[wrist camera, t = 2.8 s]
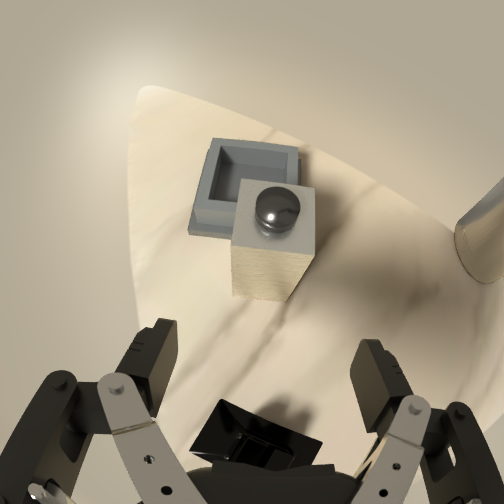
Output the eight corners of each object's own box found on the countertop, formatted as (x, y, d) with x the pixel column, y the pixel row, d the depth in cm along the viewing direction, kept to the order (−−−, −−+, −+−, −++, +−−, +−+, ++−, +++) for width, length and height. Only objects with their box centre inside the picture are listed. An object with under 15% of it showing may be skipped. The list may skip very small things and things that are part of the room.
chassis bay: (299, 165, 31) (305, 143, 28) (297, 247, 27) (305, 229, 23) (208, 155, 31) (206, 132, 27) (189, 234, 27) (183, 215, 23)
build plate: (340, 438, 20) (361, 448, 16) (301, 504, 17) (313, 525, 13) (209, 381, 22) (203, 382, 18) (169, 449, 19) (155, 464, 15)
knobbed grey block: (288, 254, 26) (318, 178, 16) (285, 302, 24) (319, 247, 14) (239, 248, 26) (241, 167, 16) (232, 296, 24) (230, 236, 14)
